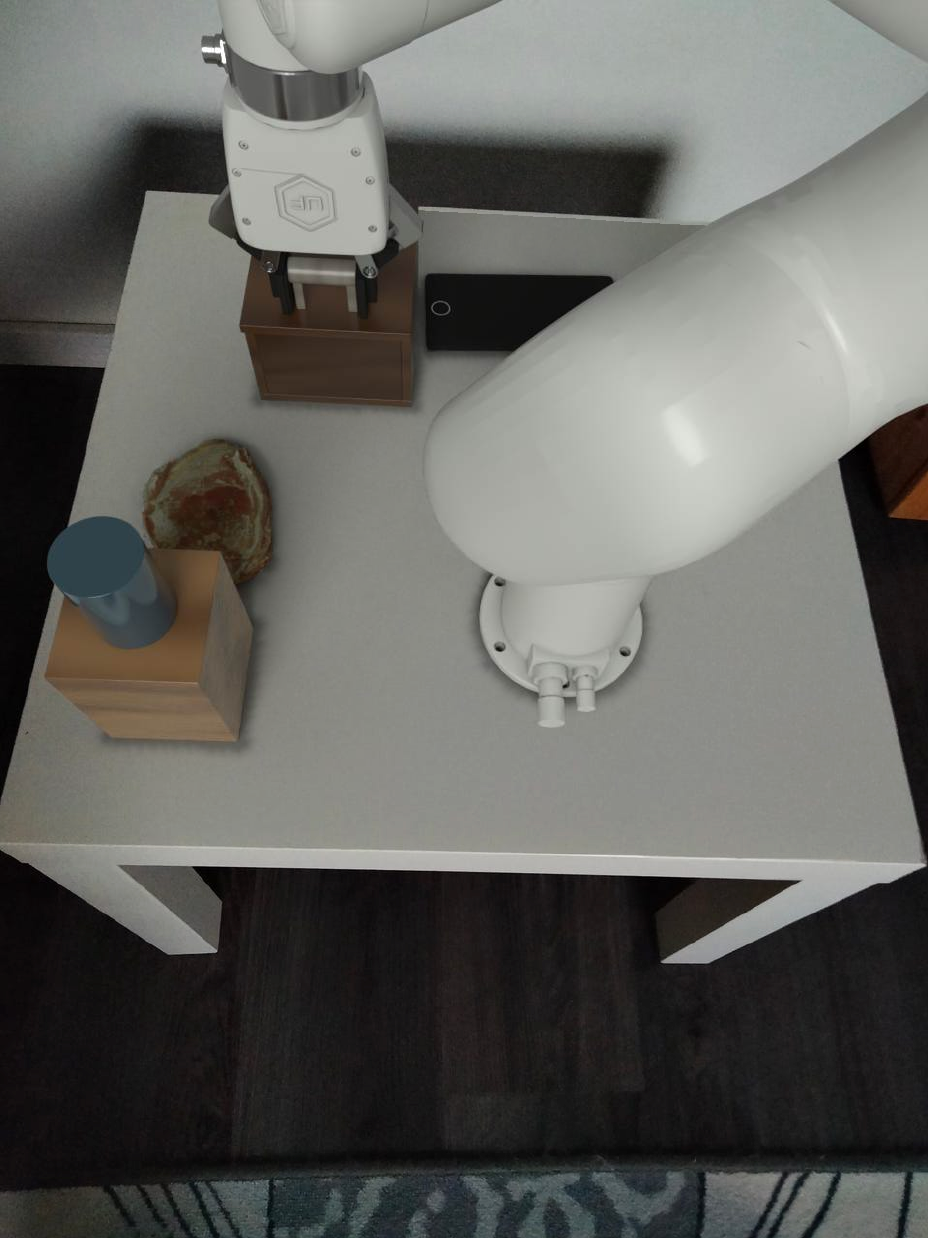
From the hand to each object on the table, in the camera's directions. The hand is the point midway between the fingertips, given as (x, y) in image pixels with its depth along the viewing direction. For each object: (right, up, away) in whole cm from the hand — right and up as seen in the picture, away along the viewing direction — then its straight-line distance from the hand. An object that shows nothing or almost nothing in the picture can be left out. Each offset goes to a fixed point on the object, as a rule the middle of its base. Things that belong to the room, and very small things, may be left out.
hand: (326, 301), depth 65 cm
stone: (-10, -16, +3) cm, 19 cm away
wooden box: (0, 0, +11) cm, 12 cm away
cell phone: (+16, +4, +14) cm, 22 cm away
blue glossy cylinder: (-9, -24, -14) cm, 29 cm away
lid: (0, +4, +3) cm, 5 cm away
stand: (-10, -29, -3) cm, 31 cm away
